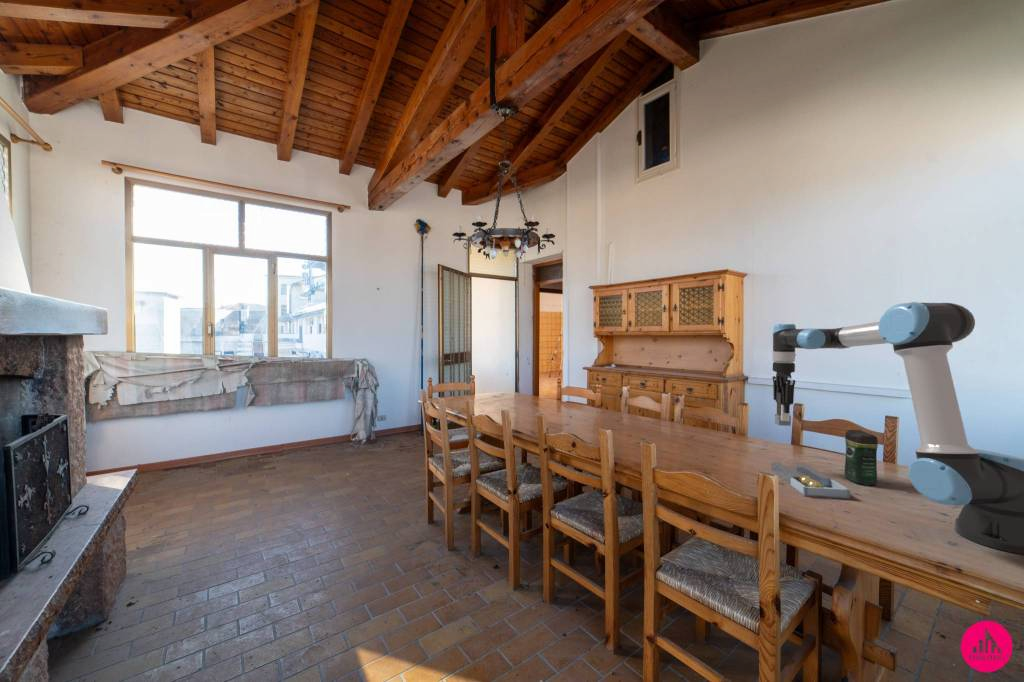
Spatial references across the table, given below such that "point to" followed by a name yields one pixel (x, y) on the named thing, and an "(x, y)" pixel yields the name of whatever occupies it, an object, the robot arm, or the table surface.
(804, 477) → the brass round knob
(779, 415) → the stepped gray block
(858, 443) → the coffee jar
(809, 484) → the gold dome knob
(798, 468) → the slot board
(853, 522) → the table surface
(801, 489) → the tray
